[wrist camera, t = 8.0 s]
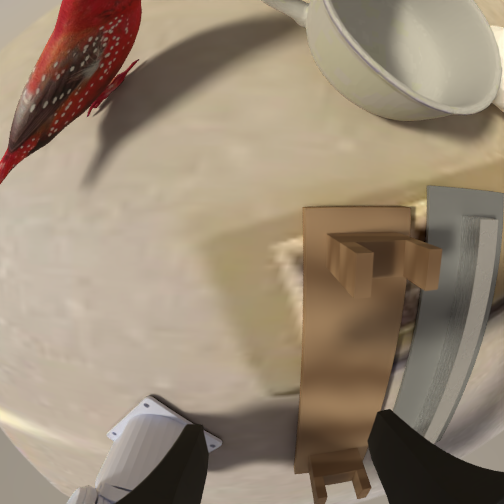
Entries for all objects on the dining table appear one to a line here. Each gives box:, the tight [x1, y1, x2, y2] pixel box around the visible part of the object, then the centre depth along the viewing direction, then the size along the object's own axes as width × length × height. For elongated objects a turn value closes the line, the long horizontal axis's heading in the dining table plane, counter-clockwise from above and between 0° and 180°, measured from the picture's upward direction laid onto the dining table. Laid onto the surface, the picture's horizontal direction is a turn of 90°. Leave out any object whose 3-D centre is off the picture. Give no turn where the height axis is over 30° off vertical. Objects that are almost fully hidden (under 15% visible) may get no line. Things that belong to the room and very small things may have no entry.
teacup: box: [261, 0, 502, 121], centre depth 11 cm, size 14×11×8 cm
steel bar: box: [414, 216, 498, 444], centre depth 18 cm, size 24×2×2 cm, turn 3°
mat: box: [393, 186, 504, 442], centre depth 19 cm, size 28×9×1 cm, turn 3°
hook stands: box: [294, 206, 442, 504], centre depth 17 cm, size 25×7×6 cm, turn 3°
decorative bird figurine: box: [0, 0, 142, 184], centre depth 11 cm, size 3×18×10 cm, turn 134°
